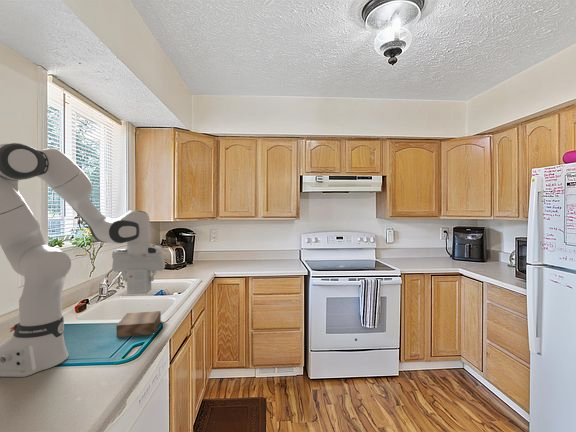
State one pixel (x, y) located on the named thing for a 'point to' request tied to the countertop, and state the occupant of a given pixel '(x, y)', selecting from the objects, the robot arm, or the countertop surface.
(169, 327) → the countertop surface
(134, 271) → the small box
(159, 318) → the walnut block
